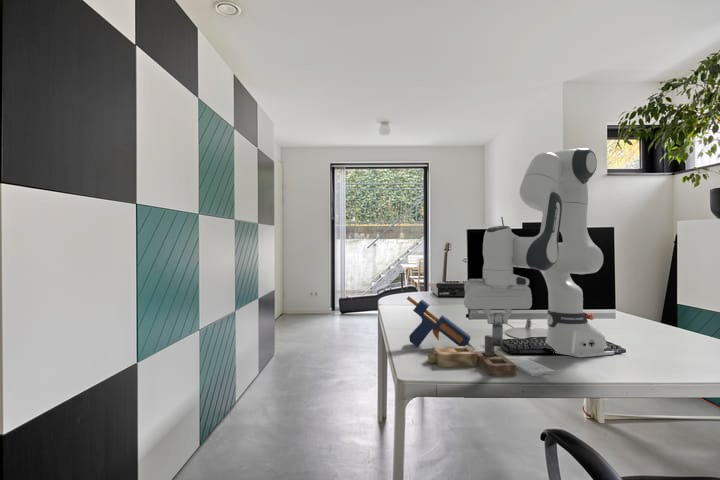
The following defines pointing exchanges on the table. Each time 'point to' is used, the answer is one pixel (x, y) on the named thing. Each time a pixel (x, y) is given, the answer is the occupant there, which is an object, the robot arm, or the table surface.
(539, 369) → the external hard drive
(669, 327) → the table surface
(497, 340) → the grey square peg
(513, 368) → the bit rack
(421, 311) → the glue gun
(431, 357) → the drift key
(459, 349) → the socket block
